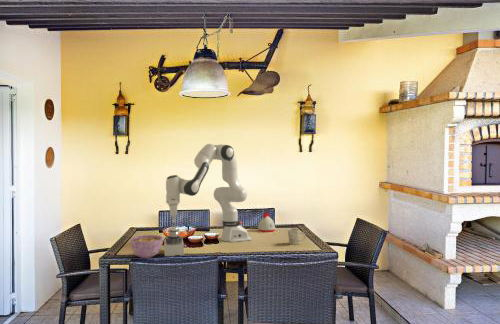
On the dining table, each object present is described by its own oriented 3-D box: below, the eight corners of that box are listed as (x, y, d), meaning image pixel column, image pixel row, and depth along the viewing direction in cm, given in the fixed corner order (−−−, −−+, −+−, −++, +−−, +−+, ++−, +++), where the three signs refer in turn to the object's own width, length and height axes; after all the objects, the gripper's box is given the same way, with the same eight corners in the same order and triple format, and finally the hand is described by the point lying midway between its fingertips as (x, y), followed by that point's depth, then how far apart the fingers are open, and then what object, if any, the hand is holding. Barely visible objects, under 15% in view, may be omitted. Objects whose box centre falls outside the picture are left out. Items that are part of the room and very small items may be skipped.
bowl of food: (153, 251, 280) (153, 233, 280) (168, 256, 265) (168, 238, 265) (124, 256, 267) (124, 238, 266) (139, 262, 252) (139, 243, 251)
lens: (178, 239, 282) (178, 226, 281) (178, 241, 276) (178, 228, 275) (168, 240, 280) (168, 226, 280) (169, 242, 274) (168, 228, 274)
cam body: (182, 248, 286) (182, 234, 286) (183, 255, 269) (183, 240, 268) (164, 249, 284) (164, 235, 283) (164, 256, 266) (164, 241, 266)
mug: (287, 242, 303) (287, 228, 303) (304, 241, 303) (304, 228, 303) (288, 244, 295) (288, 230, 294) (306, 244, 295) (306, 230, 295)
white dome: (255, 231, 343) (254, 212, 342) (263, 228, 355) (263, 210, 354) (270, 233, 336) (269, 214, 335) (278, 229, 347) (278, 211, 347)
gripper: (168, 198, 286) (168, 218, 287) (168, 202, 266) (168, 224, 267) (177, 197, 288) (178, 217, 288) (178, 202, 268) (178, 223, 268)
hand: (173, 220), depth 278 cm, fingers open, 8 cm apart
